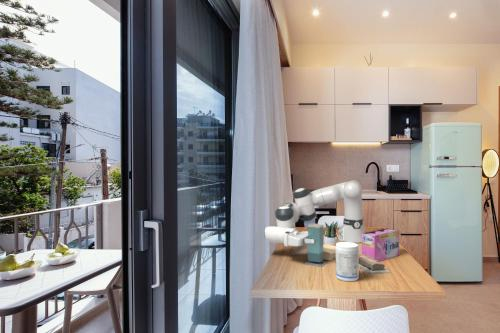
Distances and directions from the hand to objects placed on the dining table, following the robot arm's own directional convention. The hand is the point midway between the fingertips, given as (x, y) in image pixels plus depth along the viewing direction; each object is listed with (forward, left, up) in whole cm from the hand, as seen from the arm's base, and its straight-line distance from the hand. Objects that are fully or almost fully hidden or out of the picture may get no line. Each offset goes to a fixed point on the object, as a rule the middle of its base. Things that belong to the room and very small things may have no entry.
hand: (317, 240), depth 158 cm
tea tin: (-1, -1, -10) cm, 10 cm away
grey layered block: (+8, +23, -13) cm, 27 cm away
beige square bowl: (-11, +8, -12) cm, 18 cm away
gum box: (-9, +37, -12) cm, 40 cm away
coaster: (-1, -1, -12) cm, 12 cm away
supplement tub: (+20, +7, -12) cm, 25 cm away
